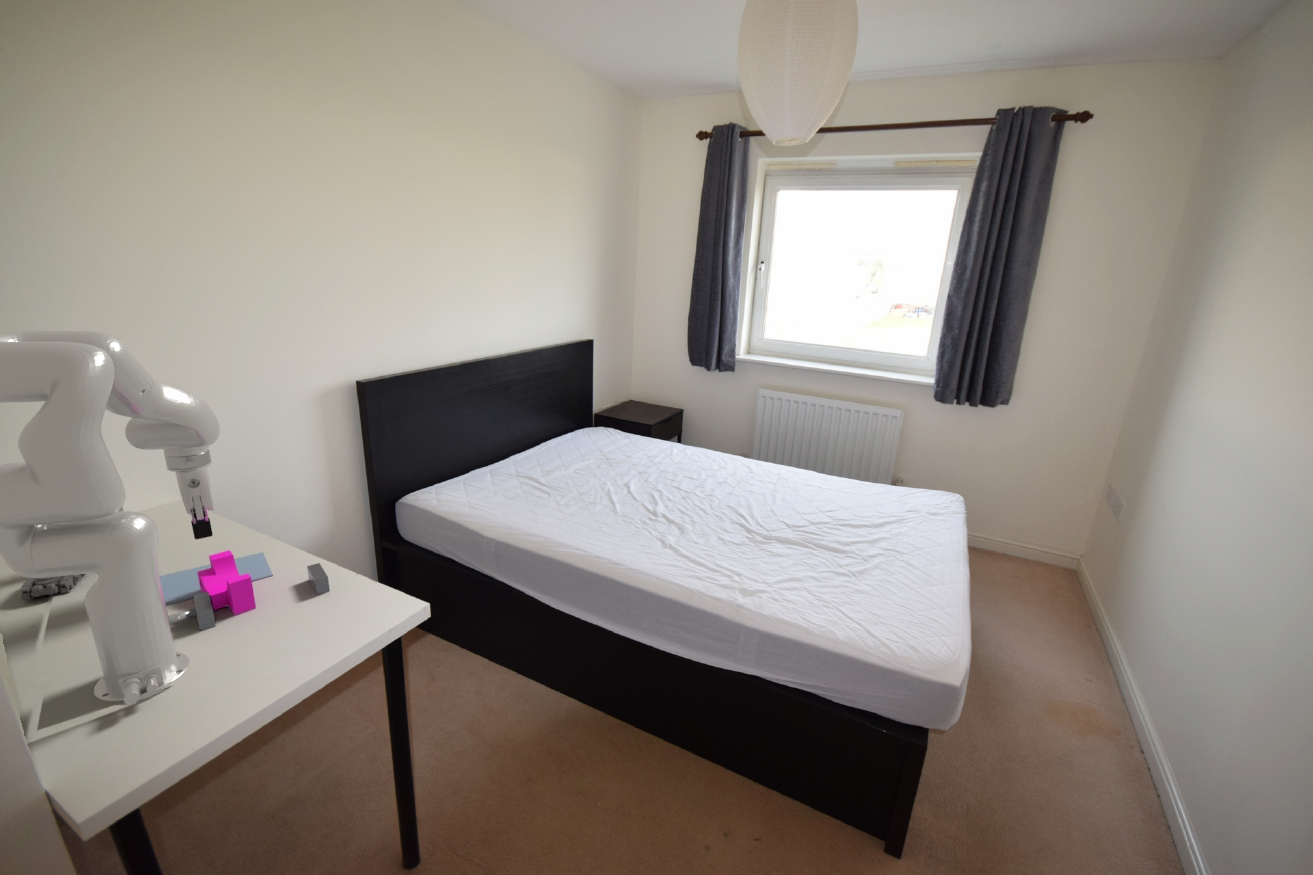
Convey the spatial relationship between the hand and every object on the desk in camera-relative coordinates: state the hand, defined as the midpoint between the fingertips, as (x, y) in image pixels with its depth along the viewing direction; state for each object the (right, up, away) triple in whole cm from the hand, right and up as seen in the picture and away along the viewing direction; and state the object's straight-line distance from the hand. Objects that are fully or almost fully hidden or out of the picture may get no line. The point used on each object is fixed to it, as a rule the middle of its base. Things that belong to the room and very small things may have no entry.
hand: (203, 536), depth 128 cm
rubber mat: (0, -10, +3) cm, 11 cm away
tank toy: (-31, -11, -2) cm, 33 cm away
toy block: (+9, -13, -5) cm, 17 cm away
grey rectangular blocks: (+15, -14, -7) cm, 22 cm away
